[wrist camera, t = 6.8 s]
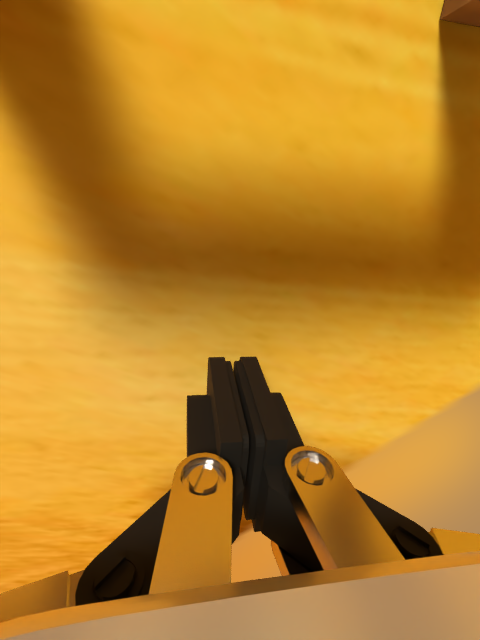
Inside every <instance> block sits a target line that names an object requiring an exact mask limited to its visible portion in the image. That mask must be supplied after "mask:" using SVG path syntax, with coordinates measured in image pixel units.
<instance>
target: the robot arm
mask: <svg viewBox="0 0 480 640" xmlns="http://www.w3.org/2000/svg"><path fill="white" fill-rule="evenodd" d="M242 508H244V514H245V518H246V520H250V519H252V523H253V528H254V532H258V531H261V532H262V534H264V535H265V536H267V537H268V538H269V539H270V540H271V546H272V551H273V554H274V556H275V559H276V562H277V564H278V567H279V569H280V572H281V575H282V576H280V577H272V578H265V579H258V580H250V581H243V582H236V583H231V545H232V544H233V542H234V541H235V540H236V538H237V537H238V536H239V528H240V520H241V516H242ZM0 640H480V534H474V533H467V532H459V531H452V530H443V529H437V528H432V529H431V531H430V532H427V531H426V530H425V529H424V528H422V527H421V526H420V525H418V524H417V523H415V522H414V521H412V520H410V519H408V518H406V517H405V516H403V515H401V514H399V513H398V512H396V511H394V510H392V509H391V508H388V507H387V506H385V505H383V504H382V503H380V502H378V501H376V500H375V499H373V498H371V497H369V496H367V495H366V494H364V493H362V492H361V491H359V490H357V489H355V488H354V487H353V485H352V484H351V482H350V481H349V480H348V478H347V477H346V475H345V474H344V472H343V471H342V470H341V468H340V467H339V465H338V464H337V463H336V461H335V460H334V459H333V458H332V457H331V456H330V455H329V454H327V453H326V452H324V451H322V450H320V449H318V448H315V447H309V446H304V444H303V442H302V440H301V437H300V435H299V433H298V430H297V428H296V426H295V424H294V421H293V419H292V417H291V415H290V412H289V410H288V408H287V405H286V403H285V401H284V399H283V396H282V395H281V393H270V391H269V388H268V386H267V383H266V380H265V378H264V375H263V373H262V370H261V368H260V365H259V362H258V360H257V358H256V357H240V360H239V361H235V362H234V370H233V369H232V365H231V362H230V361H225V358H224V357H209V358H208V378H207V395H192V396H187V458H185V459H184V460H183V461H182V462H181V463H180V464H179V465H178V466H177V469H176V471H175V473H174V478H173V483H172V487H171V490H169V491H168V492H167V493H166V494H165V495H164V496H163V497H162V498H161V499H160V500H158V501H157V502H156V503H155V504H154V505H153V506H152V507H151V508H150V509H148V510H147V511H146V512H145V513H144V514H143V515H142V516H141V517H140V518H139V519H137V520H136V521H135V522H134V523H133V524H132V525H131V526H130V527H129V528H128V529H126V530H125V531H124V532H123V533H122V534H121V535H120V536H119V537H118V538H116V539H115V540H114V541H113V542H112V543H111V544H110V545H109V546H108V547H107V548H105V549H104V550H103V551H102V552H101V553H100V554H99V555H98V556H97V557H96V558H94V560H93V561H92V562H91V563H90V564H89V565H88V566H87V567H86V569H85V570H83V571H80V572H77V573H74V574H71V575H69V573H68V571H65V572H62V573H59V574H56V575H53V576H51V577H48V578H45V579H42V580H39V581H36V582H33V583H30V584H27V585H24V586H22V587H19V588H16V589H13V590H10V591H7V592H4V593H1V594H0Z"/></svg>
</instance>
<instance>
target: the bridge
mask: <svg viewBox="0 0 480 640" xmlns="http://www.w3.org/2000/svg"><path fill="white" fill-rule="evenodd" d="M440 20H445V21H451V22H456V23H462V24H467V25H472V26H478V27H480V0H445V1H444V5H443V9H442V13H441V17H440Z"/></svg>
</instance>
